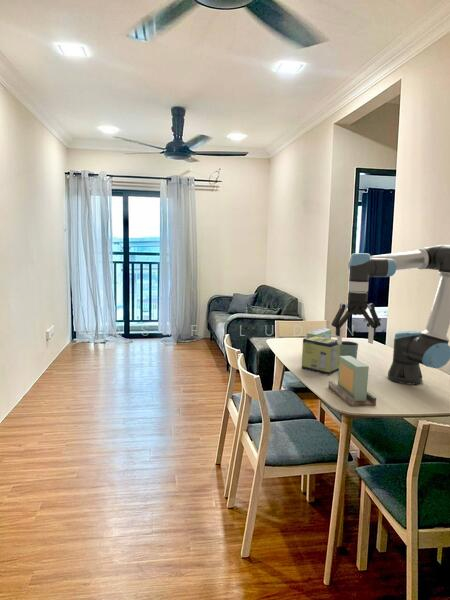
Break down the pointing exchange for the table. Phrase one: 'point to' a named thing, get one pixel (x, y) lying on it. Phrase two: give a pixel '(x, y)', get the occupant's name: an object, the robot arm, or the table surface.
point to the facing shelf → (348, 399)
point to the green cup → (348, 349)
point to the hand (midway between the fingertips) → (354, 343)
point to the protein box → (320, 355)
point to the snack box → (321, 333)
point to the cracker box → (353, 377)
